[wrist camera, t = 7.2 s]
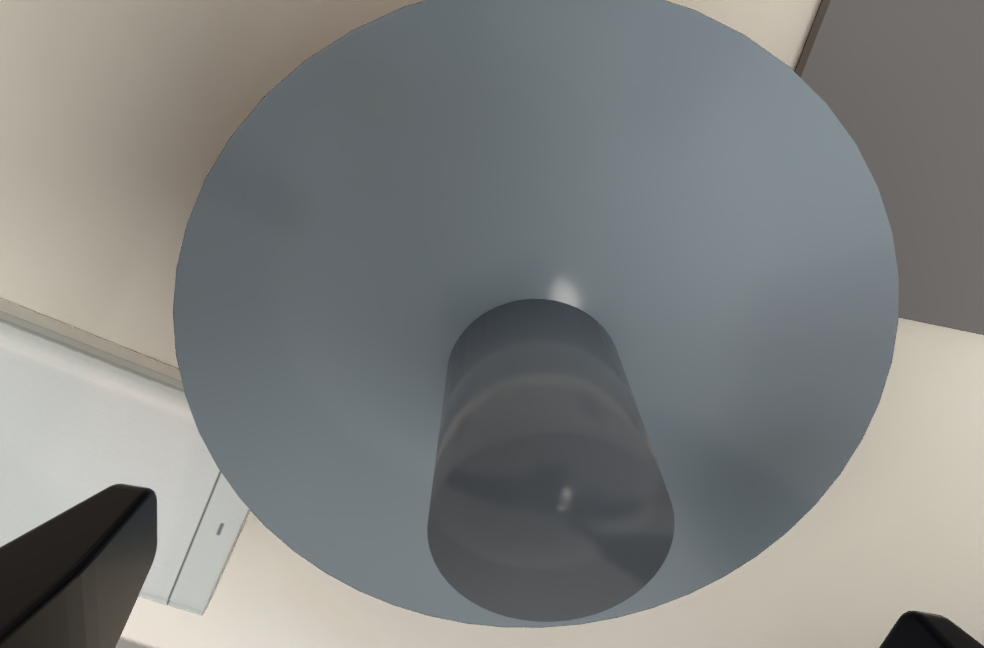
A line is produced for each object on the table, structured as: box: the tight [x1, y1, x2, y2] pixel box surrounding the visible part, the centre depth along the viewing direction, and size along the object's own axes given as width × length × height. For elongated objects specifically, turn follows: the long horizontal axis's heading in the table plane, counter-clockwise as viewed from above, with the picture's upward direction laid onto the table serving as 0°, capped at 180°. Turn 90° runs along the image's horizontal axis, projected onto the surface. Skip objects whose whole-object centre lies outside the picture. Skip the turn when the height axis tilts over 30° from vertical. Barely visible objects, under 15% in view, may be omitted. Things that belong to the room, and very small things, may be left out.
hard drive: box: [0, 298, 250, 615], centre depth 19 cm, size 2×8×12 cm
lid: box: [173, 0, 899, 628], centre depth 11 cm, size 13×13×5 cm
